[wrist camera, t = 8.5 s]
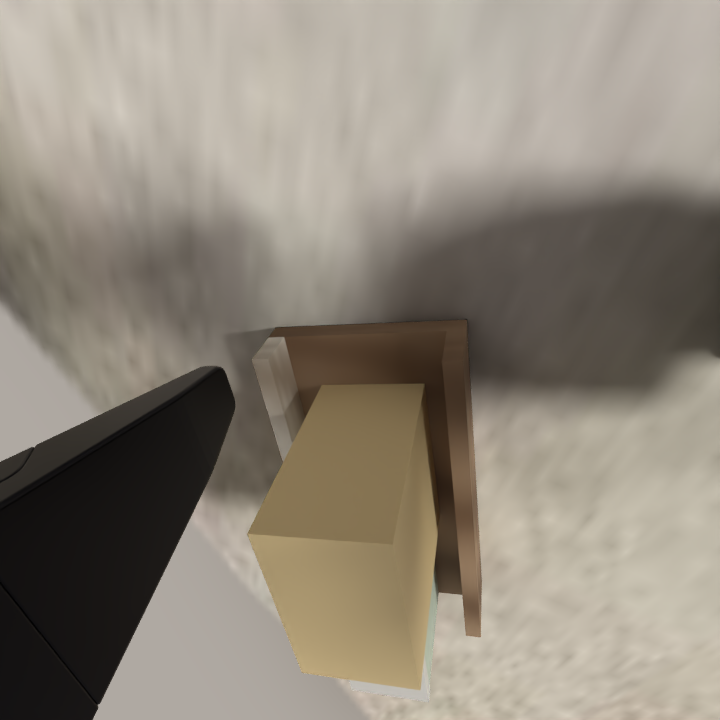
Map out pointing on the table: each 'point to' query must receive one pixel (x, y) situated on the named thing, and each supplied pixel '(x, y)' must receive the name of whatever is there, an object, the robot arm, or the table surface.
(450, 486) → the shelf
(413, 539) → the carton
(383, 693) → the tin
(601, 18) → the table surface
